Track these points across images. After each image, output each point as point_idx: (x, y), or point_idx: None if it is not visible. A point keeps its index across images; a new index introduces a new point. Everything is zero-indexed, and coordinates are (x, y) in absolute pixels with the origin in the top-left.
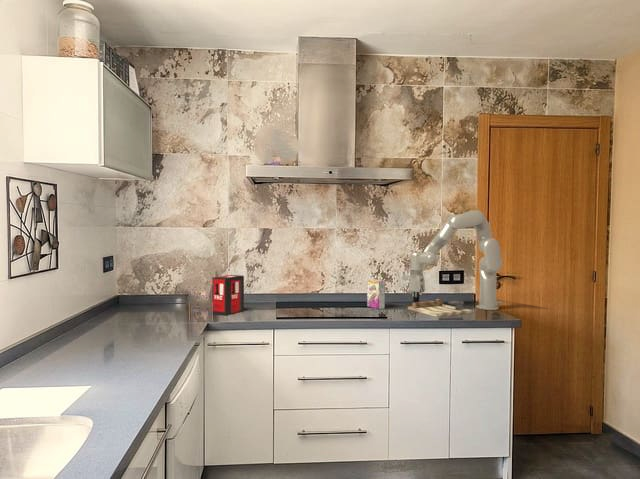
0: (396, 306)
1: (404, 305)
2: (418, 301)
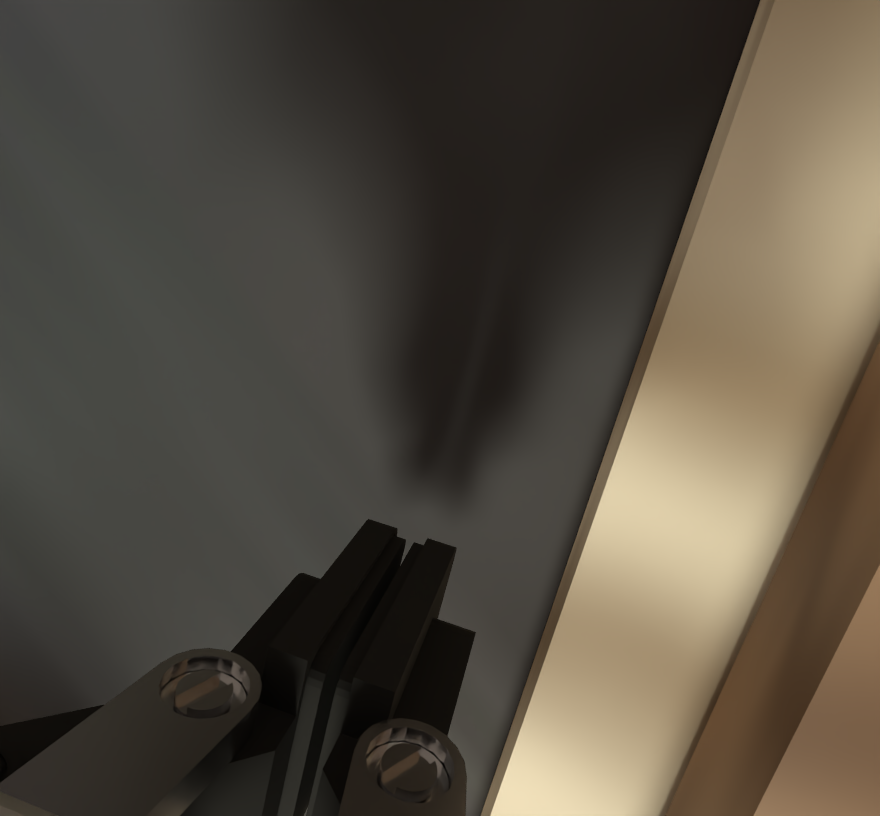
0: (63, 707)
1: (47, 467)
2: (470, 646)
